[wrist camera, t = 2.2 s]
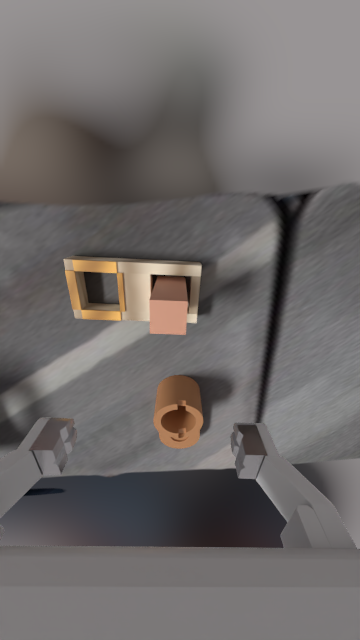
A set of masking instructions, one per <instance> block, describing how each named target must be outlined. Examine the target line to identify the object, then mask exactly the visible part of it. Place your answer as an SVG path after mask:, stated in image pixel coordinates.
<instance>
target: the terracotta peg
mask: <svg viewBox="0 0 360 640" xmlns="http://www.w3.org/2000/svg"><path fill="white" fill-rule="evenodd" d="M149 307H150V333H153V334H179V335H186V322H187V307H188V298H187V289H186V280H185V277H175V276H158V277H157V280H156V283H155V285H154V288H153V291H152V294H151V297H150V299H149Z"/></svg>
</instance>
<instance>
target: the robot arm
mask: <svg viewBox="0 0 360 640" xmlns="http://www.w3.org/2000/svg"><path fill="white" fill-rule="evenodd" d="M73 425H74V420H73V419H67V418H46V417H41V418H40V419H38V420H37V421H36V423H35V424H34V426H33V427H32V429H31V430H30V431H29V433H28V434H27V436H26V437H25V438H24V440H23V441H22V443H21V444H20V446H19V447H18V448H17V450H13V451H11V452H10V453H8V454H7V455H6V456H4V457H3V458H1V459H0V518H1V517H2V516H3V515H4V514H5V513H6V512H7V511H8V510H9V509H10V508H11V507H12V506H13V505H14V504H15V503H16V502H17V501H18V500H19V499H20V498H21V497H22V496H23V495H24V494H25V493H26V492H27V491H28V490H29V489H30V488H31V487H32V486H33V485H34V484H35V483H36V482H37V481H38V480H39V479H40V478H41V477H42V475H61V474H62V472H63V470H64V468H65V465H66V463H67V461H68V456H67V454H68V453H70V452H71V451H72V450H73V448H74V446H75V443H76V439H77V431H76V429H75V428H74V427H73ZM233 429H234V432H233V433H232V434H231V448H232V453H233V454H234V456H235V457H236V461H235V466H236V470H237V474H238V478H246V479H256V481H257V482H258V483H259V485H260V486H261V487H262V488H263V490H264V491H265V493H266V494H267V495H268V497H269V498H270V499H271V501H272V502H273V503H274V505H275V506H276V507H277V509H278V510H279V512H280V513H281V514H282V515H283V517H284V518H285V520H286V521H287V522H288V523H287V525H286V526H285V528H284V530H283V531H282V533H281V539H282V542H283V546H284V548H211V547H210V548H209V547H207V548H206V547H204V548H203V547H105V546H0V640H360V549H357V547H356V545H355V543H354V542H353V540H352V538H351V536H350V534H349V532H348V531H347V529H346V527H345V525H344V523H343V521H342V519H341V518H340V516H339V514H338V512H337V510H336V508H335V507H334V505H333V504H332V503H331V502H330V501H329V500H328V499H327V498H326V497H325V496H324V495H323V494H322V493H321V492H319V490H317V489H316V488H315V487H314V486H313V485H312V484H311V483H310V482H309V481H308V480H307V479H306V478H305V477H304V476H303V475H302V474H300V472H298V471H297V470H296V469H295V468H294V467H293V466H292V465H291V464H290V463H289V462H288V461H287V460H286V459H285V458H284V457H283V456H279V453H278V451H277V449H276V447H275V444H274V442H273V440H272V437H271V435H270V433H269V431H268V428H267V426H266V425H265V424H264V423H235V424H234V426H233ZM3 534H4V528H3V527H2V526H1V524H0V540H1V538H2V536H3Z"/></svg>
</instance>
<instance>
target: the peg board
mask: <svg viewBox="0 0 360 640" xmlns="http://www.w3.org/2000/svg"><path fill="white" fill-rule="evenodd" d="M64 264H65V269H66V270H65V273H66V278H67V283H68V288H69V293H70V298H71V303H72V308H73V310H74V315H75V318H83V319H95V320H120V321H121V320H135V321H150V307H149V299H150V297H151V294H152V291H153V278H152V274H156V275H177V276H191V278H190V292H189V306H188V307H187V322H186V323H196V322H197V311H198V300H199V290H200V279H201V268H202V265H201V263H200V262H187V261H167V260H146V259H125V258H104V257H84V256H71V257H68V258H65V259H64ZM84 272H105V273H117V280H118V292H119V303H120V304H99V303H88V297H87V290H86V284H85V278H84Z"/></svg>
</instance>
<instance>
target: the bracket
mask: <svg viewBox="0 0 360 640" xmlns="http://www.w3.org/2000/svg"><path fill="white" fill-rule="evenodd" d="M202 425H203V414H202V405H201V397H200V389H199V386H198V384H197V383H196V382H195V381H194V380H193V379H192V378H190V377H187V376H183V375H174V376H170V377H168V378H166V379H164V380H163V381H162V382H161V383H160V384H159V386H158V389H157V397H156V405H155V413H154V426H155V428H156V429H157V430H158V431H159V437H160V440H161V441H162V442H163V443H164V444H165V445H167V446H169V447H172V448H187V447H190V446H192V445H194V444H195V443H196V442H197V441H198V440H199V437H200V429H201V427H202Z"/></svg>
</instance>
